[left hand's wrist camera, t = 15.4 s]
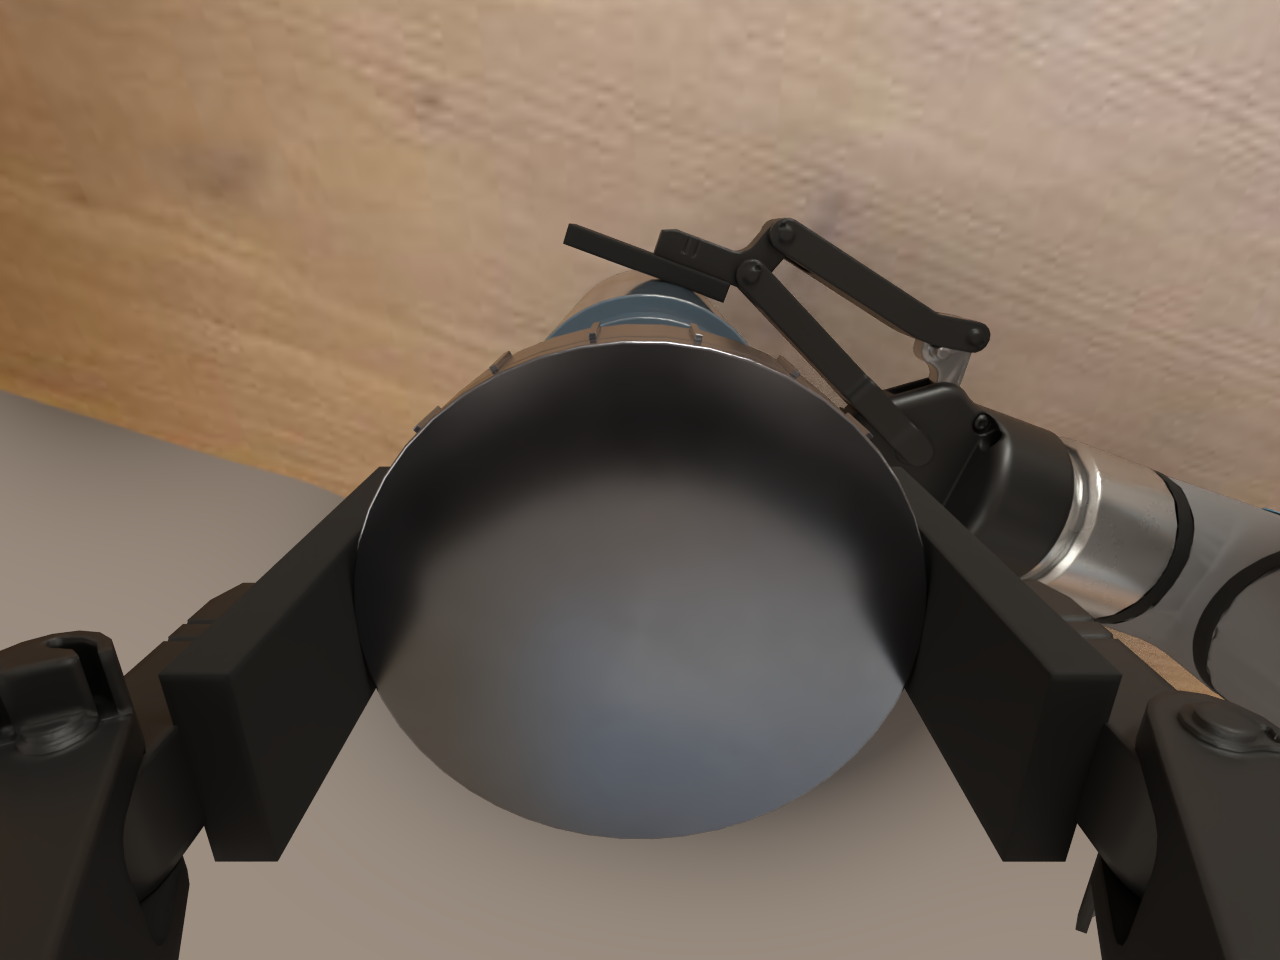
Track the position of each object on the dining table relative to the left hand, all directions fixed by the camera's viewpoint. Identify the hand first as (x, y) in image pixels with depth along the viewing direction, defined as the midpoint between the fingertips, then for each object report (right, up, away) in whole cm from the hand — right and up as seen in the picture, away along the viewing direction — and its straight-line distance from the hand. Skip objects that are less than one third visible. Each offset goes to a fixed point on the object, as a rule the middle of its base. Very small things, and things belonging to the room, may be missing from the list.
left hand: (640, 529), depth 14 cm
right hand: (-4, +7, +14) cm, 16 cm away
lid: (0, -1, -3) cm, 3 cm away
